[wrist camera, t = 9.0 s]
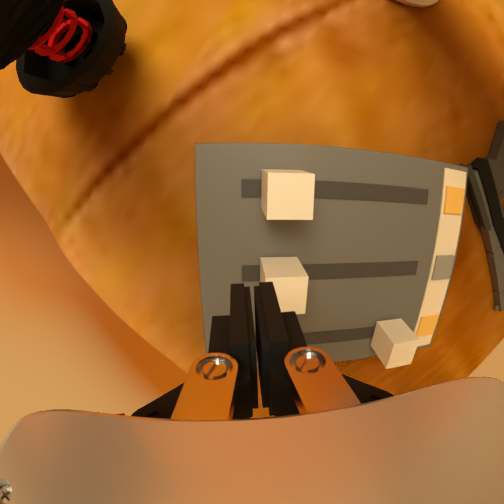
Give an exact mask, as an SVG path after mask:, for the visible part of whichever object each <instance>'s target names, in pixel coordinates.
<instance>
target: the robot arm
mask: <svg viewBox="0 0 504 504" xmlns="http://www.w3.org/2000/svg"><path fill="white" fill-rule="evenodd" d="M395 1H398V2H400V3H403V4H405V5H409V6H413V7H428V6H430V5H433V4H434V3H436V2H437V1H439V0H395ZM254 307H255V330H254V321H253V312H252V303H251V294H250V286H247V287H244V283H237V284H231V289H230V315H223V316H212V323H211V332H210V341H209V350H208V354H205V355H202V356H200V357H198V358H197V359H196V360H195V361H194V362H193V364H192V365H191V367H190V370H189V373H188V375H187V378H186V380H185V382H184V383H183V384H181V385H180V386H178V387H176V388H175V389H173V390H171V391H169V392H168V393H166V394H164V395H163V396H161V397H159V398H158V399H156V400H154V401H152V402H151V403H149V404H147V405H145V406H144V407H142V408H140V409H138V410H137V411H135V412H134V413H133V414H132V415H131V416H126V415H125V414H107V413H99V412H91V411H83V410H69V409H65V410H64V409H60V410H59V409H58V410H55V409H54V410H46V411H39V412H34V413H31V414H28V415H26V416H24V417H23V418H21V419H20V420H19V421H18V422H17V423H16V424H15V425H14V426H13V427H12V428H11V430H10V431H9V433H8V434H7V435H6V437H5V438H4V440H3V442H2V443H1V445H0V504H504V382H502V381H500V380H498V379H495V378H490V377H469V378H461V379H456V380H452V381H447V382H443V383H440V384H437V385H433V386H430V387H426V388H422V389H419V390H415V391H412V392H408V393H399V394H398V395H397V396H393V395H392V394H390V393H389V392H387V391H384V390H381V389H379V388H376V387H373V386H371V385H368V384H366V383H363V382H361V381H358V380H355V379H353V378H350V377H348V376H346V375H343V374H341V373H340V371H339V370H338V368H337V367H336V365H335V364H334V363H333V361H332V360H331V358H330V357H329V355H328V354H327V353H326V352H324V351H322V350H321V349H318V348H314V347H307V344H306V341H305V338H304V335H303V332H302V330H301V327H300V324H299V321H298V318H297V315H296V313H295V311H290V312H281V310H280V306H279V303H278V299H277V295H276V292H275V288H274V284H273V282H259V286H254ZM255 336H256V339H255ZM256 351H257V356H256ZM257 360H258V369H259V378H260V387H261V396H262V404H263V408H266V407H269V414H270V416H271V415H275V416H276V417H264V418H250V417H253V416H252V415H253V411H252V408H258V387H257Z"/></svg>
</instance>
